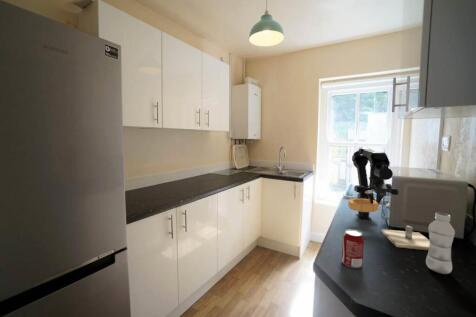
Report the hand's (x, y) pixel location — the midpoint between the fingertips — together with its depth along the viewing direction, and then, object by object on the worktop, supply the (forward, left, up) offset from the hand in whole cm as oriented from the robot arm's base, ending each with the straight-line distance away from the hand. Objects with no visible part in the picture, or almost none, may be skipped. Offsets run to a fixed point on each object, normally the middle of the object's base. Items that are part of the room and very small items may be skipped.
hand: (374, 206), depth 113 cm
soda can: (+41, -21, -11) cm, 47 cm away
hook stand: (+14, +9, -11) cm, 20 cm away
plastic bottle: (+38, +7, -11) cm, 40 cm away
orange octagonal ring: (0, -5, -1) cm, 6 cm away
